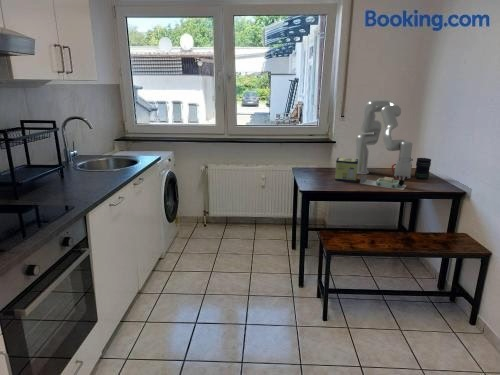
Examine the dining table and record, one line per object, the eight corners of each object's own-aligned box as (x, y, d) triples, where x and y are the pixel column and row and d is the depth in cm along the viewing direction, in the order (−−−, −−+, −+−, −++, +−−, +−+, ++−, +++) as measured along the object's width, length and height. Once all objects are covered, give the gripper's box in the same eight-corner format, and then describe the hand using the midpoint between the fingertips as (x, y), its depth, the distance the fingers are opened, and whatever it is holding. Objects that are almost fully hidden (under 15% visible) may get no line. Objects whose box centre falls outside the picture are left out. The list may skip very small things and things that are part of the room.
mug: (403, 177, 261) (406, 160, 257) (409, 180, 253) (411, 162, 249) (387, 177, 261) (389, 160, 257) (392, 180, 252) (395, 163, 248)
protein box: (336, 177, 264) (337, 157, 259) (356, 178, 259) (358, 158, 254) (334, 180, 254) (335, 160, 250) (356, 182, 249) (358, 161, 245)
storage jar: (430, 180, 253) (433, 160, 249) (416, 179, 255) (418, 160, 251) (426, 176, 263) (429, 157, 258) (412, 176, 264) (415, 157, 260)
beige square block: (384, 182, 245) (384, 176, 244) (392, 183, 242) (393, 178, 240) (382, 184, 240) (382, 178, 239) (391, 185, 237) (391, 180, 236)
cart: (375, 185, 240) (375, 181, 239) (379, 181, 249) (379, 177, 248) (396, 188, 233) (396, 184, 232) (399, 184, 242) (400, 180, 241)
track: (359, 183, 246) (360, 178, 245) (364, 179, 256) (365, 174, 255) (403, 190, 230) (403, 184, 229) (406, 185, 240) (407, 180, 239)
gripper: (417, 159, 230) (413, 185, 235) (394, 157, 238) (391, 182, 243) (415, 161, 224) (411, 188, 229) (391, 159, 232) (388, 185, 237)
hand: (401, 185), depth 236 cm, fingers closed
